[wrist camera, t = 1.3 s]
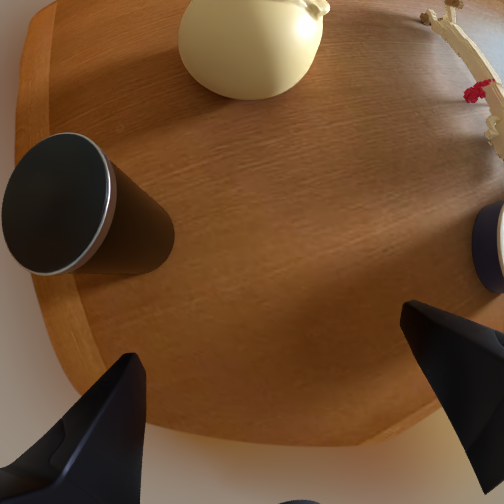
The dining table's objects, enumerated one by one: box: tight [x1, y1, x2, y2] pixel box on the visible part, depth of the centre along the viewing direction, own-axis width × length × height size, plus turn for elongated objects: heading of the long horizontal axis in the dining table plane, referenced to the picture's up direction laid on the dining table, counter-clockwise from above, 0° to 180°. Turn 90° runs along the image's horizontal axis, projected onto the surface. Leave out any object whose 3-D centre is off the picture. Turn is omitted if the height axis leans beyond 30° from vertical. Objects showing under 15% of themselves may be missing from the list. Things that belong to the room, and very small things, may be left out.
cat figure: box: [420, 0, 504, 161], centre depth 22 cm, size 10×9×25 cm
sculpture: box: [178, 0, 330, 100], centre depth 19 cm, size 12×12×11 cm
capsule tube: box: [2, 132, 175, 276], centre depth 16 cm, size 6×6×13 cm
